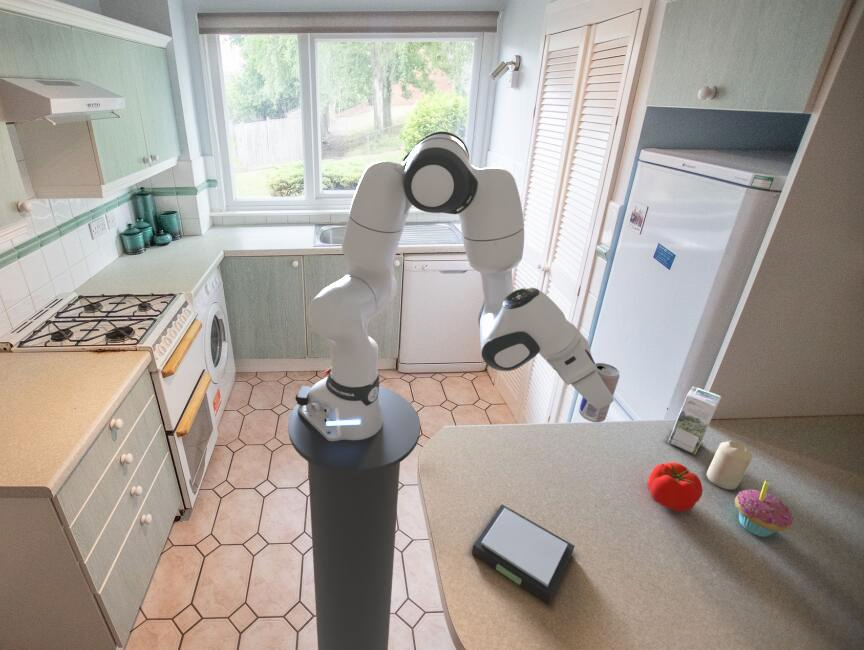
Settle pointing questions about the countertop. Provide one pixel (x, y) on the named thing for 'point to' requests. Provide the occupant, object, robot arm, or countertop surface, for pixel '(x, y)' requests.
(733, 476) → the candle
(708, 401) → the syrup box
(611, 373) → the energy drink
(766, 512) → the cupcake
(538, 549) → the scale
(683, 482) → the tomato
